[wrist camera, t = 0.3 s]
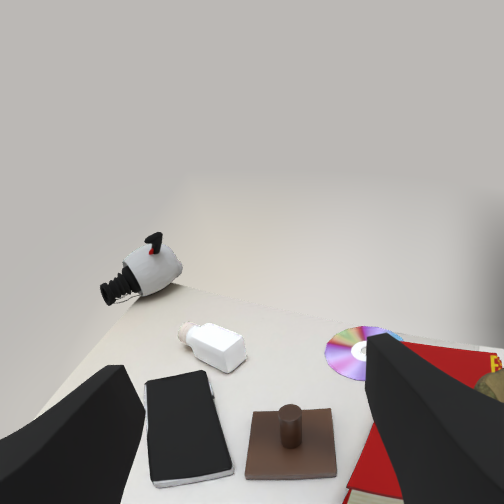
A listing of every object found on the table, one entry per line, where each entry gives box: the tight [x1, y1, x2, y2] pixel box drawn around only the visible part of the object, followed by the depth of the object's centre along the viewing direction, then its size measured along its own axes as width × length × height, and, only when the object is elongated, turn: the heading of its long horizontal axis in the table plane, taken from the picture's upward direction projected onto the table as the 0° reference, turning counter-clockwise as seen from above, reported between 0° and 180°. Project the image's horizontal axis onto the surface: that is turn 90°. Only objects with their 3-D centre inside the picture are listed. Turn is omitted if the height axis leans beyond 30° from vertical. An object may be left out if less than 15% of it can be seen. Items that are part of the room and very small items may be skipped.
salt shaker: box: [178, 321, 247, 373], centre depth 41 cm, size 4×4×10 cm
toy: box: [100, 232, 183, 306], centre depth 58 cm, size 9×18×15 cm
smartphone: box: [144, 370, 234, 488], centre depth 30 cm, size 8×1×15 cm
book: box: [342, 341, 502, 504], centre depth 22 cm, size 18×13×5 cm
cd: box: [325, 326, 403, 381], centre depth 38 cm, size 11×11×1 cm
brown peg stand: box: [245, 404, 337, 480], centre depth 25 cm, size 8×8×6 cm
